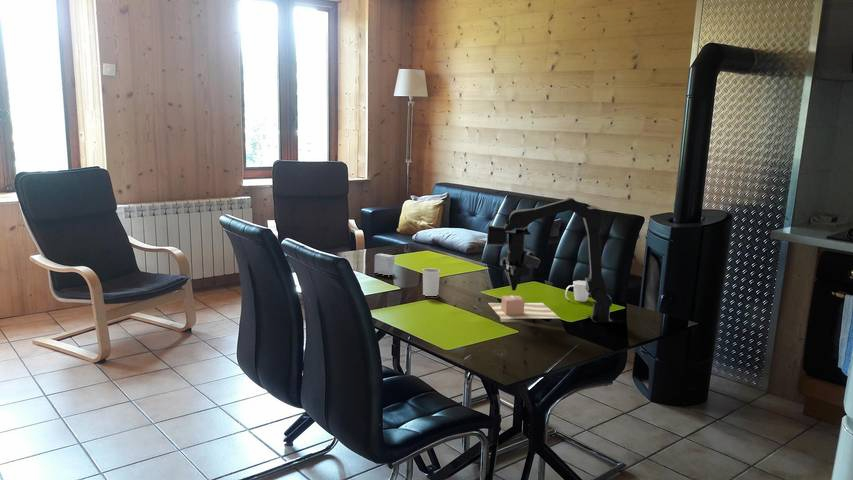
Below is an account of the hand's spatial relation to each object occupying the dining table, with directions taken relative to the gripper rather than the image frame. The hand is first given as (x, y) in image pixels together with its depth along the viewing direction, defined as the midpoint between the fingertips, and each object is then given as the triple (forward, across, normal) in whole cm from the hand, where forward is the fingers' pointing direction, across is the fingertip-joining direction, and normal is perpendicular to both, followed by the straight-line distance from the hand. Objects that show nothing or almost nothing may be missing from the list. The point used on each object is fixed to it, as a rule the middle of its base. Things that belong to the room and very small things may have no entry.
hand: (513, 290), depth 238 cm
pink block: (+8, 0, 0) cm, 8 cm away
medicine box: (+9, +64, +40) cm, 76 cm away
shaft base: (+9, +2, -4) cm, 10 cm away
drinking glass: (+9, +28, +25) cm, 39 cm away
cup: (+9, +16, -30) cm, 35 cm away
